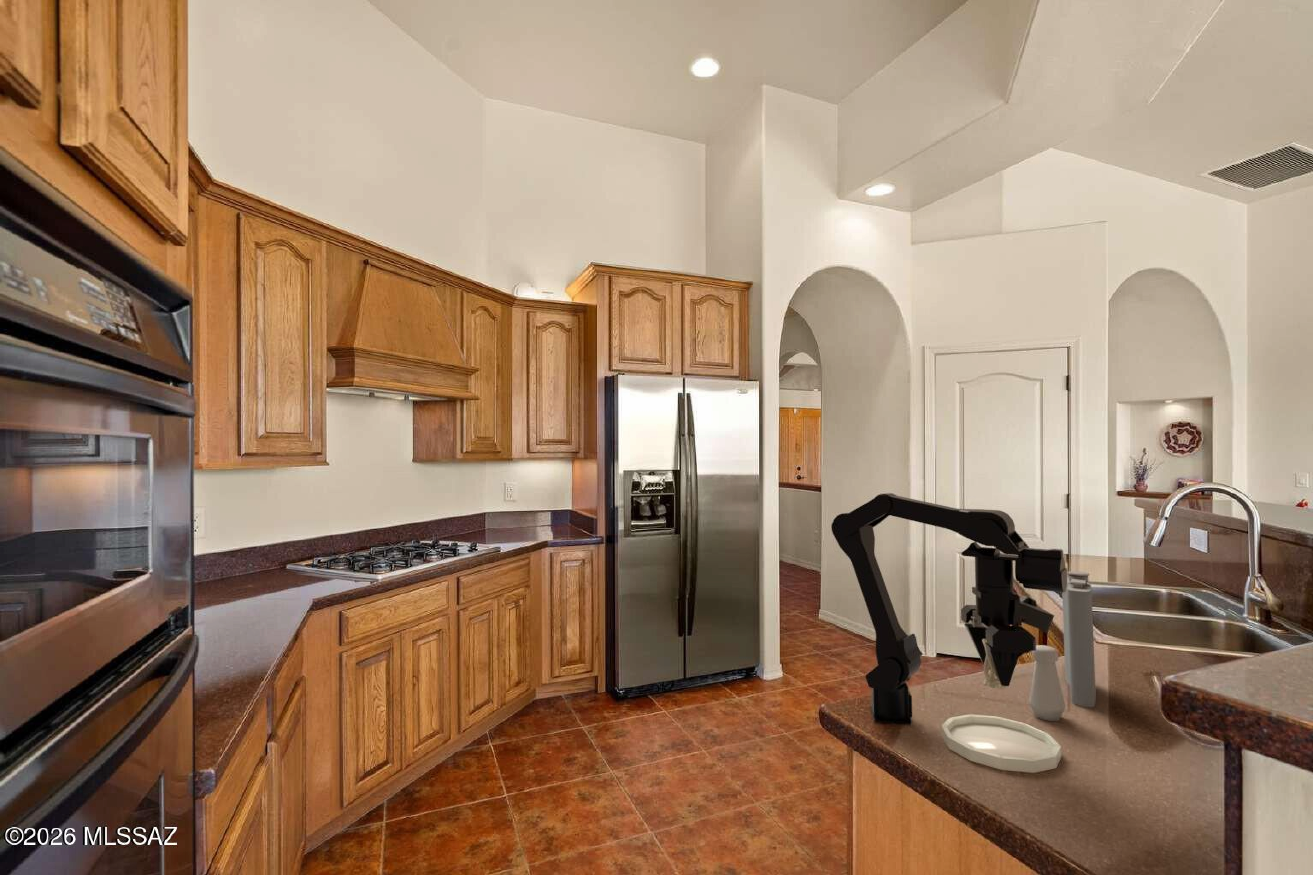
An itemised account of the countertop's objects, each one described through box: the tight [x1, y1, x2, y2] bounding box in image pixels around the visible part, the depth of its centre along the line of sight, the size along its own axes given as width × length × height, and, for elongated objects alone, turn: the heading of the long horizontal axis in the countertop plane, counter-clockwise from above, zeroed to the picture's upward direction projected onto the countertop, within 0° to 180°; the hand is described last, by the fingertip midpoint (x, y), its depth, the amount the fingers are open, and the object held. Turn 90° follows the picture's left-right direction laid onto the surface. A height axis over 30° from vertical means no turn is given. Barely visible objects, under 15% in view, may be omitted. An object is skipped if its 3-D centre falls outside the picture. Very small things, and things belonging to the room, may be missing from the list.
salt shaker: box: [1028, 644, 1066, 722], centre depth 115 cm, size 6×6×13 cm
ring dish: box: [941, 713, 1062, 774], centre depth 103 cm, size 17×17×2 cm
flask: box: [1061, 570, 1097, 708], centre depth 127 cm, size 17×5×25 cm, turn 150°
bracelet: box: [982, 639, 1007, 690], centre depth 104 cm, size 4×8×8 cm, turn 148°
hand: (996, 676), depth 103 cm, fingers closed on bracelet, 8 cm apart
